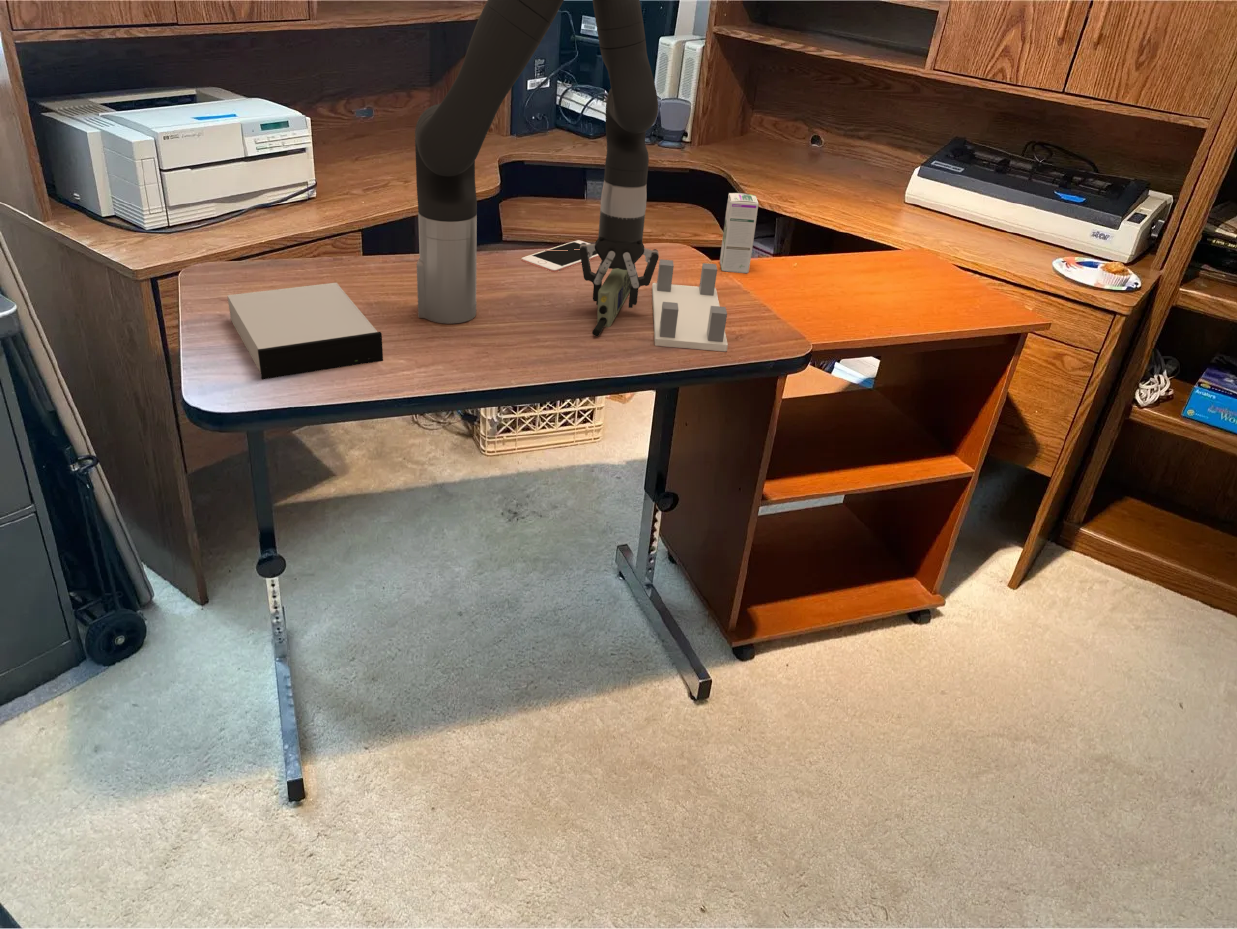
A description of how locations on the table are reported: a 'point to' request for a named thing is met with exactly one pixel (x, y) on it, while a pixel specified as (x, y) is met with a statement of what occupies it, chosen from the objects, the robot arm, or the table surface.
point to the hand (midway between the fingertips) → (614, 304)
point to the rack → (688, 311)
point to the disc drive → (303, 330)
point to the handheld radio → (611, 298)
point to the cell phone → (558, 257)
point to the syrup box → (738, 232)
